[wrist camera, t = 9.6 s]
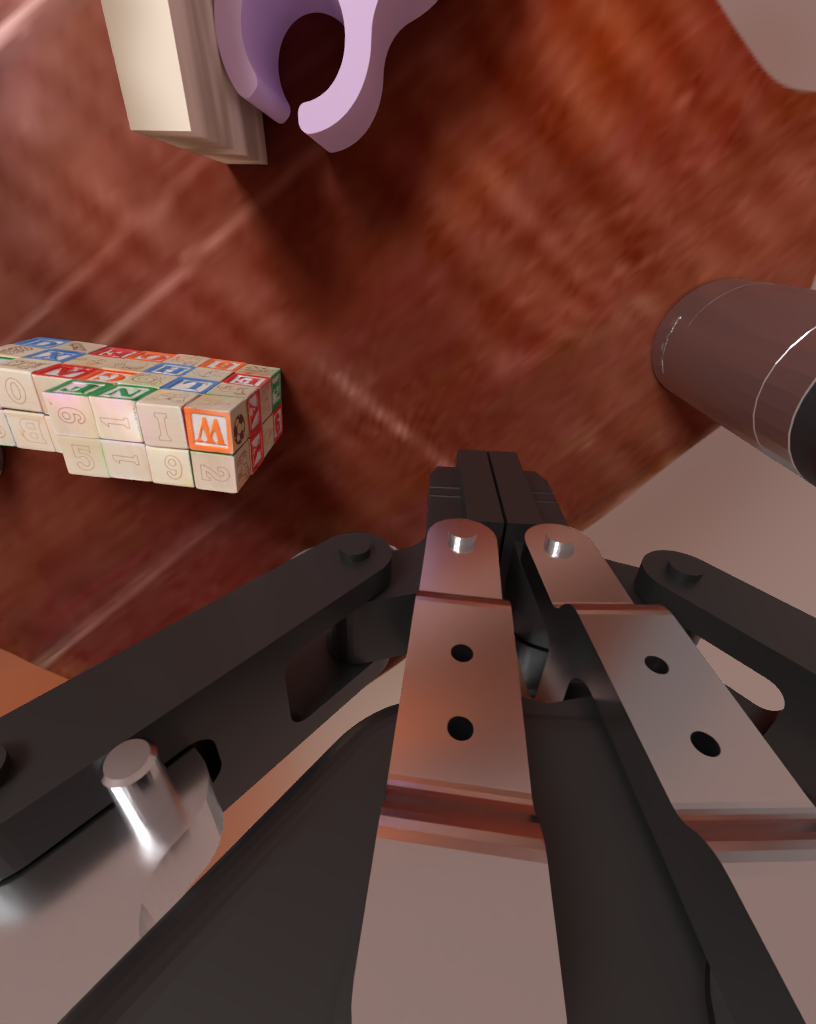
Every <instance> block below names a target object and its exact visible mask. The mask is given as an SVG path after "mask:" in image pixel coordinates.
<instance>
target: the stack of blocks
mask: <svg viewBox="0 0 816 1024" xmlns="http://www.w3.org/2000/svg"><path fill="white" fill-rule="evenodd" d="M282 433H283V416H282V401H281V369H279V368H273V367H265V366H258V365H251V364H247V363H243V362H236V361H228V360H221V359H212V358H206V357H200V356H192V355H184V354H177V355H174V354H164V353H158V352H150V351H137V350H130V349H122V348H115V347H108V346H107V345H101V344H94V343H86V342H79V341H68V340H61V339H52V338H44V337H37V338H33V339H30V340H25V341H22V342H18V343H14V344H9V345H5V346H1V347H0V445H3V446H17V447H18V448H25V449H33V450H43V451H51V452H59V453H63V455H64V458H65V462H66V466H67V469H68V472H69V473H70V474H78V475H87V476H96V477H106V478H110V477H113V478H120V479H130V480H139V481H152V482H154V483H159V484H167V485H175V486H184V487H196V488H198V489H204V490H212V491H220V492H228V493H237V492H238V491H239V490H240V489H241V487H242V486H243V485H244V483H245V482H246V481H247V479H248V478H249V476H250V475H251V474H254V472H255V471H256V470H257V468H258V467H259V466H260V464H261V463H262V461H263V460H264V457H265V456H266V455H267V453H268V452H269V450H270V449H271V448H272V446H273V445H274V444H275V443H276V442H277V440H278V439H279V437H280V436H281V435H282Z"/></svg>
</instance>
